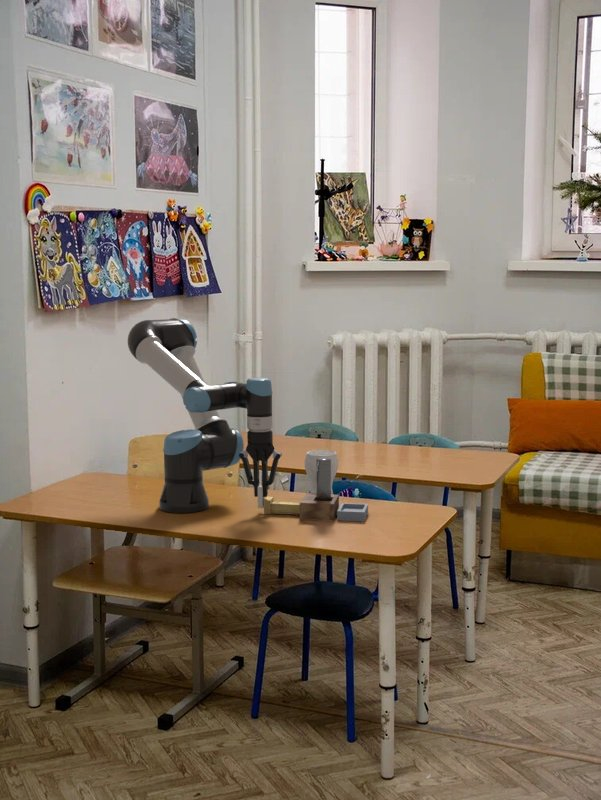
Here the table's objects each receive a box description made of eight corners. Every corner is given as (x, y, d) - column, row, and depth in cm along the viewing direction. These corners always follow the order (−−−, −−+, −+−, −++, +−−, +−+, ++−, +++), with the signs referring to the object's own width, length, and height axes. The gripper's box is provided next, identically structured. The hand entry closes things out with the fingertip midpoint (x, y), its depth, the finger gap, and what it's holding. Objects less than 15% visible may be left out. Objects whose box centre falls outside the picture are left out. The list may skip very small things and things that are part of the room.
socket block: (299, 519, 294) (299, 502, 294) (306, 509, 306) (306, 493, 305) (333, 520, 293) (333, 504, 292) (338, 510, 304) (338, 494, 304)
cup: (309, 503, 313) (309, 456, 311) (300, 496, 323) (300, 450, 321) (342, 501, 316) (342, 454, 313) (332, 494, 326) (332, 448, 324)
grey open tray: (337, 520, 293) (337, 511, 293) (341, 511, 303) (341, 502, 303) (364, 521, 292) (364, 512, 292) (368, 512, 302) (368, 504, 301)
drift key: (263, 513, 300) (263, 500, 299) (267, 510, 304) (266, 496, 304) (303, 515, 298) (303, 501, 297) (305, 511, 302) (306, 498, 302)
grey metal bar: (315, 516, 297) (315, 460, 295) (317, 513, 302) (317, 457, 299) (329, 517, 297) (329, 461, 294) (331, 513, 301) (332, 458, 298)
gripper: (235, 431, 296) (237, 509, 299) (278, 432, 294) (279, 510, 297) (241, 427, 303) (243, 503, 306) (283, 428, 301) (284, 505, 304)
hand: (261, 507), depth 302 cm, fingers closed
